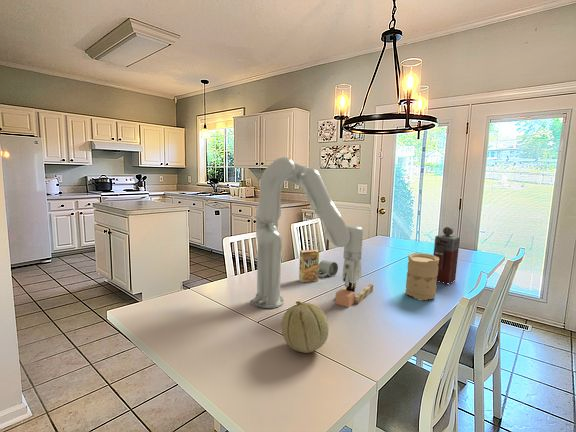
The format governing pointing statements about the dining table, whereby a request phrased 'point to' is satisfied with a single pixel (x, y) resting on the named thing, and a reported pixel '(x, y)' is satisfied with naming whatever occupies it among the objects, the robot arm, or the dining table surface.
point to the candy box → (308, 265)
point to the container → (422, 276)
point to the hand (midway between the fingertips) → (350, 295)
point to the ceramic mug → (327, 268)
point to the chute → (362, 293)
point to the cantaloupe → (305, 327)
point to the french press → (446, 255)
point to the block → (345, 298)
